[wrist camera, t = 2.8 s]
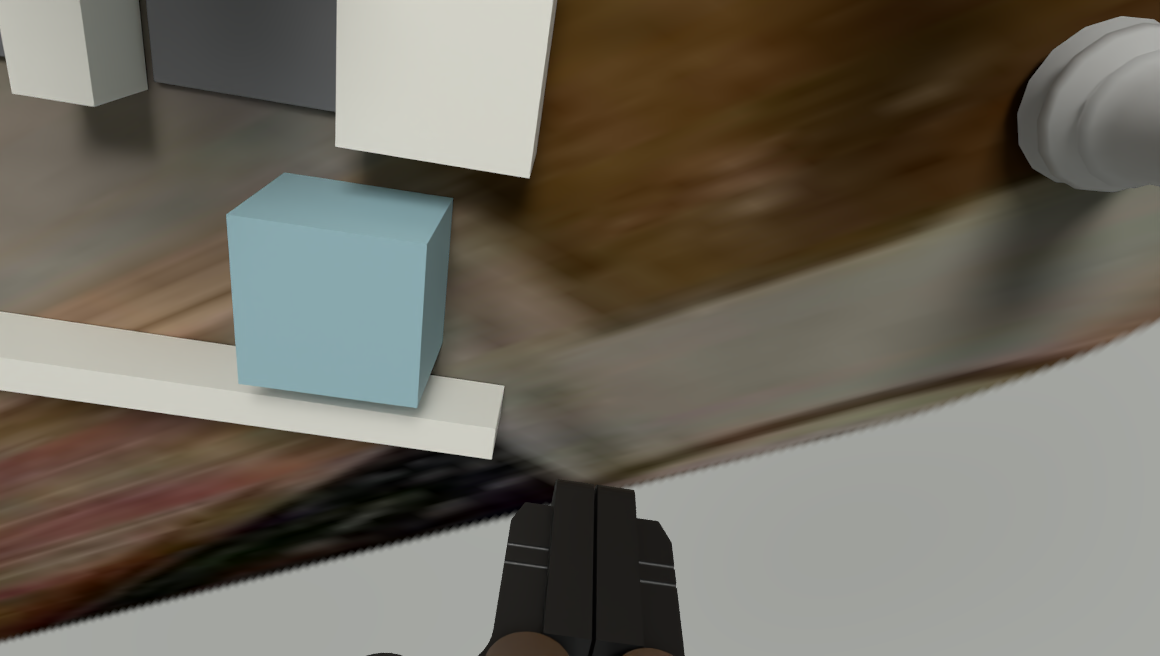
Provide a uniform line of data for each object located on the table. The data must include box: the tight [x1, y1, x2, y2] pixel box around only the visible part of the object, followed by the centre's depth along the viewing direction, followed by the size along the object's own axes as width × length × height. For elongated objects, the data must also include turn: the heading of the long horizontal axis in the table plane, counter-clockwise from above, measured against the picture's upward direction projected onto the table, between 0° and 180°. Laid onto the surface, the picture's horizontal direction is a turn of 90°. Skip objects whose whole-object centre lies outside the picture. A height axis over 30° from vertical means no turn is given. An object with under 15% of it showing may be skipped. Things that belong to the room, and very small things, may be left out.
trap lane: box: [0, 0, 557, 460], centre depth 20 cm, size 25×16×2 cm, turn 81°
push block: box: [226, 173, 453, 408], centre depth 21 cm, size 5×5×4 cm
